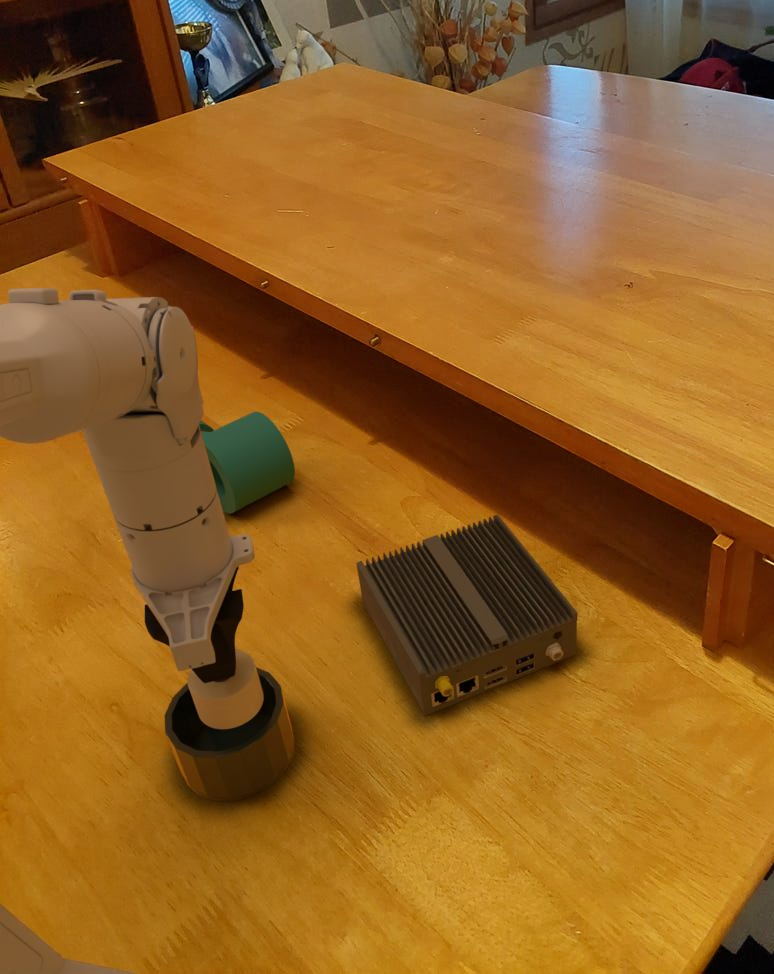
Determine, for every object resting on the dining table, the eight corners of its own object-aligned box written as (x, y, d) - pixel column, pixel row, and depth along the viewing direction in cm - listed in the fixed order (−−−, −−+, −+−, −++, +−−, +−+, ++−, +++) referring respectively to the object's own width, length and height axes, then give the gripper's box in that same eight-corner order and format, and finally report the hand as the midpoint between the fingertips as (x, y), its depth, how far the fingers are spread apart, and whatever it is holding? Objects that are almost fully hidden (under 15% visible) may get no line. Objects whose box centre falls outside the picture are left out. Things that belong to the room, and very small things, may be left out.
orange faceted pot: (246, 819, 62) (230, 774, 59) (158, 775, 66) (139, 729, 63) (316, 733, 68) (305, 687, 65) (232, 695, 71) (218, 650, 68)
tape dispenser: (242, 526, 88) (224, 459, 83) (165, 464, 97) (146, 400, 92) (300, 495, 91) (286, 429, 87) (221, 437, 100) (205, 375, 96)
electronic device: (430, 728, 68) (424, 681, 65) (360, 600, 79) (352, 555, 76) (583, 664, 72) (585, 618, 69) (497, 552, 83) (495, 507, 80)
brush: (234, 738, 60) (206, 654, 55) (183, 715, 62) (152, 630, 57) (277, 691, 63) (254, 607, 58) (227, 670, 65) (201, 586, 60)
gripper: (248, 564, 47) (293, 733, 55) (227, 419, 58) (267, 578, 67) (104, 596, 46) (172, 765, 54) (111, 441, 57) (167, 601, 65)
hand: (217, 664), depth 60 cm, fingers closed on brush
